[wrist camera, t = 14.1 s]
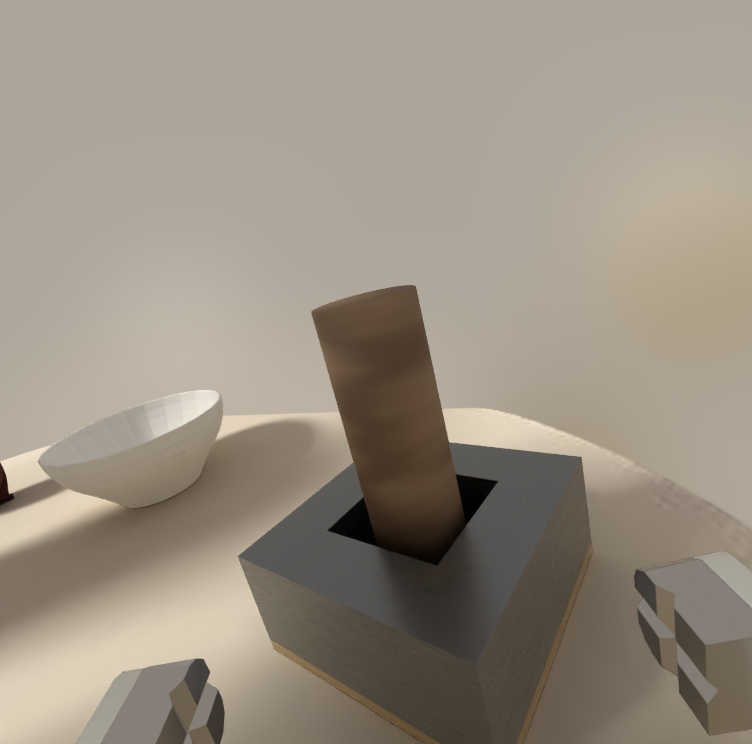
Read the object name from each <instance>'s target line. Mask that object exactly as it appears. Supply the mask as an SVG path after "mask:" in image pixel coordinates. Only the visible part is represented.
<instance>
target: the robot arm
mask: <svg viewBox="0 0 752 744" xmlns="http://www.w3.org/2000/svg"><path fill="white" fill-rule="evenodd" d="M634 578H635V588H636V589H637V590H638V592H639V593H640V594H641V596H642V597H643V599H642V600H641V602H640V603H639V605H638V606H637V611H638V618H639V624H640V626H641V629H642V632H643V635H644V638H645V640H646V642H647V644H648V646H649V648H650V649H651V651H652V653H653V655H654V656H655V658H656V659H657V661H658V662H659V664H660V665H661V667H663V668H664V669H666V670H668V671H669V672H671V673H673V674H674V675H676V676H678V681H679V693H680V694H681V696H682V697H683V699H684V700H685V702H686V703H687V704H688V706H689V707H690V709H691V710H692V712H693V713H694V715H695V716H696V717H697V719H698V720H699V722H700V723H701V725H702V726H703V728H704V729H705V730H706V732H707V733H708V735H709V736H710V735H717V734H724V733H731V732H737V731H744V730H751V729H752V571H750V570H749V569H748V568H747V567H746V566H745V565H743V564H742V563H741V562H740V561H739V560H738V559H736V558H735V557H734V556H733V555H732V554H730V553H727V552H725V551H720V552H715V553H711V554H706V555H701V556H697V557H694V558H687V559H683V560H678V561H673V562H668V563H664V564H659V565H654V566H650V567H645V568H640V569H636V572H635V575H634ZM209 674H210V671H209V669H208V667H207V665H206V663H205V661H204V659H191V660H185V661H179V662H174V663H168V664H162V665H156V666H150V667H147V668H142V669H136V670H130V671H124V672H122V673H121V674H120V675H119V676H118V677H116V678H115V679H114V681H113V682H112V684H111V686H110V687H109V689H108V691H107V692H106V694H105V696H104V698H103V699H102V701H101V703H100V704H99V706H98V708H97V709H96V711H95V713H94V714H93V716H92V718H91V719H90V721H89V723H88V724H87V726H86V728H85V729H84V731H83V733H82V734H81V736H80V738H79V740H78V741H77V743H76V744H220V742H221V738H222V735H223V728H224V715H225V712H224V706H223V700H222V697H221V695H220V693H219V691H218V689H216V688H215V687H213V686H212V685H210V684H208V683H207V679H208V676H209Z"/></svg>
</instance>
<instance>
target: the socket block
mask: <svg viewBox="0 0 752 744" xmlns="http://www.w3.org/2000/svg"><path fill="white" fill-rule="evenodd" d="M449 446H450V450H451V455H452V460H453V464H454V469H455V474H456V479H457V483H458V488H459V493H460V498H461V502H462V507H463V512H464V516H465V521H466V527H465V528H464V530H463V531H462V532H461V534H460V535H459V537H458V538H457V539H456V541H455V542H454V543H453V545H452V546H451V548H450V549H449V550H448V552H447V553H446V554H445V556H444V557H443V559H442V560H441V561H440V563H439V564H438V566H436V565H433V564H430V563H427V562H423V561H420V560H417V559H414V558H411V557H408V556H405V555H401V554H398V553H395V552H392V551H389V550H386V549H383V548H380V547H378V546H377V543H376V539H375V536H374V532H373V529H372V525H371V521H370V518H369V514H368V511H367V507H366V504H365V500H364V497H363V493H362V490H361V486H360V483H359V479H358V476H357V472H356V468H355V465H354V463H352V464H351V465H350V466H349V467H347V468H346V469H345V470H344V471H342V472H341V473H340V474H339V475H338V476H336V477H335V478H334V479H333V480H331V481H330V482H329V483H328V484H326V485H325V486H324V487H323V488H322V489H320V490H319V491H318V492H317V493H315V494H314V495H313V496H312V497H310V498H309V499H308V500H307V501H305V502H304V503H303V504H302V505H301V506H299V507H298V508H297V509H296V510H294V511H293V512H292V513H291V514H289V515H288V516H287V517H286V518H285V519H283V520H282V521H281V522H280V523H278V524H277V525H276V526H275V527H273V528H272V529H271V530H270V531H269V532H267V533H266V534H265V535H264V536H262V537H261V538H260V539H259V540H257V541H256V542H255V543H254V544H253V545H251V546H250V547H249V548H248V549H246V550H245V551H244V552H243V553H241V554H240V555H239V556H238V558H239V561H240V563H241V566H242V568H243V571H244V574H245V576H246V579H247V581H248V584H249V586H250V589H251V591H252V594H253V597H254V599H255V602H256V604H257V607H258V609H259V612H260V614H261V617H262V620H263V622H264V625H265V627H266V630H267V632H268V635H269V637H270V640H271V643H272V645H273V648H274V649H276V650H277V651H279V652H280V653H282V654H283V655H285V656H287V657H288V658H290V659H291V660H293V661H295V662H296V663H298V664H299V665H301V666H303V667H304V668H306V669H307V670H309V671H310V672H312V673H314V674H315V675H317V676H318V677H320V678H322V679H323V680H325V681H326V682H328V683H330V684H331V685H333V686H334V687H336V688H337V689H339V690H341V691H342V692H344V693H345V694H347V695H349V696H350V697H352V698H353V699H355V700H356V701H358V702H360V703H361V704H363V705H364V706H366V707H368V708H369V709H371V710H372V711H374V712H376V713H377V714H379V715H380V716H382V717H383V718H385V719H387V720H388V721H390V722H391V723H393V724H395V725H396V726H398V727H399V728H401V729H403V730H404V731H406V732H407V733H409V734H410V735H412V736H414V737H415V738H417V739H418V740H420V741H422V742H423V743H425V744H523V743H524V740H525V737H526V735H527V732H528V729H529V726H530V724H531V721H532V718H533V715H534V712H535V710H536V707H537V704H538V701H539V699H540V696H541V693H542V690H543V688H544V685H545V682H546V679H547V676H548V674H549V671H550V668H551V665H552V663H553V660H554V657H555V654H556V652H557V649H558V646H559V643H560V640H561V638H562V635H563V632H564V629H565V627H566V624H567V621H568V618H569V616H570V613H571V610H572V607H573V604H574V602H575V599H576V596H577V593H578V591H579V588H580V585H581V582H582V580H583V577H584V574H585V571H586V569H587V566H588V563H589V560H590V557H591V555H592V552H593V551H592V542H591V534H590V525H589V517H588V509H587V500H586V492H585V483H584V475H583V466H582V458H581V457H576V456H567V455H558V454H549V453H540V452H531V451H522V450H513V449H504V448H495V447H486V446H477V445H468V444H458V443H449Z"/></svg>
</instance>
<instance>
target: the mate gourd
mask: <svg viewBox="0 0 752 744" xmlns="http://www.w3.org/2000/svg"><path fill="white" fill-rule="evenodd" d="M12 499H14V497H13V494H9V492H8V484H7V478H6V474H5V472H4V469H3V467H2V465H1V463H0V505H1V504H3V503H5V502H8V501H10V500H12Z"/></svg>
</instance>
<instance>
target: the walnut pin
mask: <svg viewBox="0 0 752 744" xmlns="http://www.w3.org/2000/svg"><path fill="white" fill-rule="evenodd" d="M312 316H313V320H314V324H315V327H316V330H317V334H318V338H319V341H320V345H321V348H322V352H323V355H324V359H325V362H326V366H327V369H328V373H329V376H330V380H331V384H332V387H333V391H334V394H335V398H336V401H337V405H338V408H339V412H340V415H341V419H342V423H343V426H344V430H345V433H346V437H347V440H348V444H349V447H350V451H351V454H352V458H353V461H354V465H355V468H356V472H357V476H358V479H359V483H360V486H361V490H362V493H363V497H364V500H365V504H366V507H367V511H368V514H369V518H370V521H371V525H372V529H373V532H374V536H375V539H376V543H377V546H378V547H380V548H383V549H386V550H389V551H392V552H395V553H398V554H401V555H405V556H408V557H411V558H414V559H417V560H420V561H423V562H427V563H430V564H433V565H436V566H438V564H439V563H440V561H441V560H442V559H443V557H444V556H445V554H446V553H447V552H448V550H449V549H450V548H451V546H452V545H453V543H454V542H455V541H456V539H457V538H458V537H459V535H460V534H461V532H462V531H463V530H464V528H465V527H466V521H465V516H464V512H463V507H462V502H461V498H460V493H459V488H458V483H457V479H456V474H455V469H454V464H453V460H452V455H451V450H450V446H449V441H448V436H447V431H446V427H445V422H444V417H443V413H442V408H441V403H440V398H439V394H438V389H437V385H436V380H435V375H434V370H433V366H432V361H431V356H430V351H429V347H428V342H427V337H426V332H425V328H424V323H423V319H422V313H421V309H420V304H419V299H418V295H417V290H416V286H413V285H406V286H397V287H391V288H386V289H380V290H376V291H371V292H367V293H363V294H359V295H355V296H352V297H348V298H344V299H341V300H338V301H335V302H332V303H329V304H326V305H323V306H321V307H319V308H317V309H315V310H313V311H312Z"/></svg>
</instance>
